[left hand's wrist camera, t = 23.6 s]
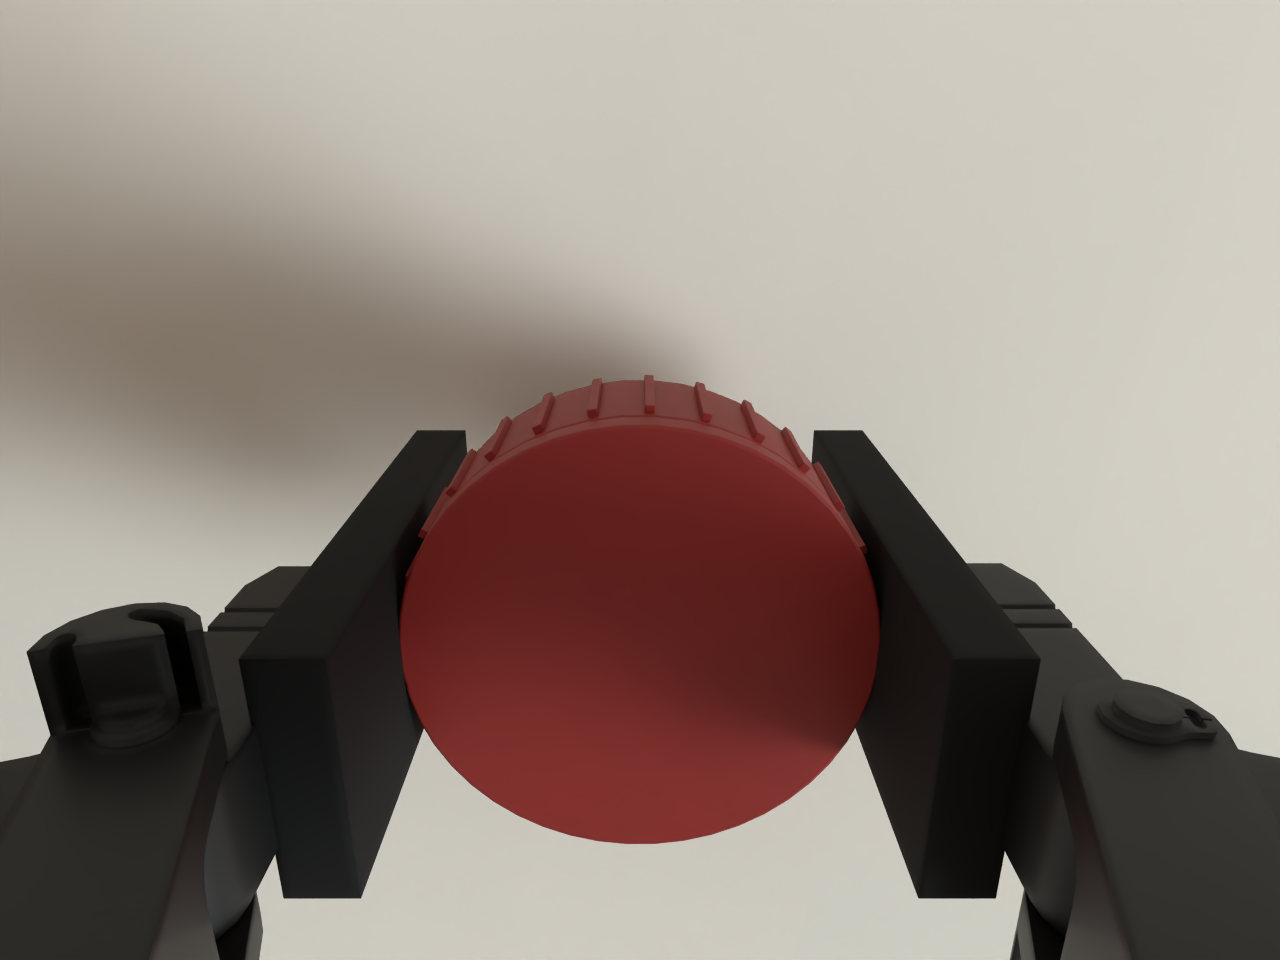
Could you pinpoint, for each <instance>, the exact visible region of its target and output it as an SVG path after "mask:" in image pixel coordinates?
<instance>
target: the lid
mask: <svg viewBox="0 0 1280 960" xmlns="http://www.w3.org/2000/svg"><path fill="white" fill-rule="evenodd" d="M844 508H845V506H844V504H843V503H842V501H841V499H840V497H839V496H838V494H837V492H836V490H835V489H834V487H833V485H832V483H831V482H830V480H829V478H828V476H827V475H826V473H825V471H824V469H823V468H822V466H821V465H820V463H819V462H816V463H815V464H813V465H812V464H811V462H810V461H809V460H808V458H807V457H806V456H805V454H804V453H803V452H802V450H801V449H800V447H799V445H798V444H797V442H796V440H795V438H794V436H793V434H792V432H791V431H790V430H789V429H788V428H786V427H785V428H784V429H783V430H782V431H781V430H780V429H778V428H777V427H776V426H774V425H773V424H772V423H770V422H769V421H768V420H766V419H765V418H764V417H762V416H761V415H759V414H758V413H756V412H755V411H754V409H753V407H752V404H751V403H750V402H748V401H746V400H743V402H742V404H740V403H738V402H736V401H733V400H731V399H728V398H726V397H723V396H721V395H718V394H716V393H713V392H711V391H708V390H706V389H705V385H704V384H702V383H698V382H696V384H695V387H692V386H688V385H684V384H678V383H670V382H662V381H654V379H653V376H652V375H645V376H644V380H641V381H617V382H610V383H602V379H601V378H600V379H594V380H593V382H592V385H591V386H587V387H583V388H580V389H576V390H572V391H569V392H565V393H563V394H561V395H558V396H556V397H554V396H553V394H552V392H551V393H548V394H546V395H544V397H543V400H542V402H541V403H539V404H538V405H536V406H534V407H532V408H531V409H529V410H527V411H525V412H524V413H522V414H520V415H519V416H517V417H515V418H514V419H513V420H511V419H510V418H509V417H508V416H507V417H506V418H504V419H503V420H502V421H501V423H500V425H499V427H498V429H497V431H496V433H495V434H494V435H493V436H492V437H491V438H490V439H489V440H488V441H487V442H486V443H485V444H484V445H483V446H482V447H481V448H480V449H479V450H478V451H477V452H476V451H474V450H473V449H471V450H470V451H469V452H468V453H467V455H466V456H465V458H464V460H463V462H462V464H461V465H460V467H459V469H458V471H457V473H456V474H455V476H454V478H453V480H452V481H451V483H450V485H449V487H448V488H447V487H445V488H444V490H443V492H442V494H441V496H440V497H439V499H438V501H437V503H436V504H435V506H434V508H433V510H432V511H431V513H430V515H429V517H428V518H427V520H426V522H425V524H424V525H423V527H422V529H421V531H420V533H419V535H418V536H419V537H421V538H423V539H424V541H423V543H422V545H421V547H420V549H419V550H418V552H417V554H416V556H415V558H414V560H413V562H412V563H411V565H410V567H409V569H408V571H407V573H406V574H405V582H406V583H405V586H404V591H403V596H402V602H401V607H400V612H399V639H400V649H401V657H402V666H403V674H404V680H405V683H406V687H407V691H408V694H409V697H410V700H411V702H412V704H413V706H414V709H415V711H416V713H417V716H418V718H419V720H420V722H421V724H422V725H423V727H424V729H425V730H426V732H427V734H428V735H429V737H430V739H431V740H432V742H433V743H434V745H435V746H436V747H437V749H438V750H439V751H440V752H441V754H442V755H443V756H444V757H445V759H446V760H447V761H448V762H449V763H450V765H451V766H452V767H453V768H454V769H455V770H456V771H457V772H458V773H459V774H461V775H462V776H463V777H464V778H465V779H466V780H467V781H468V782H469V783H470V784H471V785H472V786H474V787H475V788H476V789H478V790H479V791H480V792H482V793H483V794H484V795H486V796H487V797H488V798H490V799H491V800H492V801H494V802H495V803H497V804H499V805H500V806H502V807H504V808H506V809H507V810H509V811H511V812H513V813H514V814H516V815H518V816H520V817H522V818H525V819H527V820H529V821H531V822H534V823H536V824H538V825H540V826H543V827H546V828H549V829H552V830H555V831H558V832H561V833H564V834H568V835H571V836H576V837H581V838H586V839H591V840H595V841H602V842H613V843H623V844H658V843H667V842H676V841H684V840H689V839H694V838H698V837H703V836H708V835H712V834H715V833H718V832H721V831H724V830H727V829H730V828H733V827H736V826H739V825H741V824H744V823H746V822H748V821H750V820H752V819H754V818H757V817H759V816H761V815H763V814H765V813H767V812H769V811H770V810H772V809H774V808H775V807H777V806H779V805H780V804H782V803H784V802H785V801H787V800H789V799H790V798H791V797H792V796H794V795H795V794H796V793H798V792H799V791H800V790H802V789H803V788H804V787H805V786H807V785H808V784H809V783H811V782H812V781H813V780H814V779H815V778H816V777H817V776H818V775H819V774H820V773H821V772H822V771H823V770H824V769H825V768H826V767H827V766H828V765H829V764H830V763H831V761H832V760H833V759H834V758H835V756H836V755H837V754H838V753H839V751H840V750H841V749H842V747H843V746H844V745H845V744H846V742H847V741H848V739H849V737H850V736H851V734H852V732H853V731H854V729H855V727H856V726H857V724H858V722H859V721H860V719H861V717H862V714H863V712H864V709H865V707H866V705H867V702H868V700H869V697H870V695H871V692H872V688H873V685H874V681H875V676H876V669H877V660H878V651H879V642H880V610H879V605H878V600H877V595H876V590H875V585H874V581H873V579H872V576H871V573H870V571H869V568H868V565H867V562H866V560H865V557H864V555H863V554H865V553H868V551H867V548H866V546H865V544H864V542H863V540H862V539H861V537H860V535H859V533H858V532H857V530H856V528H855V526H854V524H853V523H852V521H851V519H850V517H849V516H848V514H847V512H846V510H845V509H844Z"/></svg>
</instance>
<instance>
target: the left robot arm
mask: <svg viewBox="0 0 1280 960" xmlns="http://www.w3.org/2000/svg"><path fill="white" fill-rule="evenodd" d="M466 455H467V446H466V433H465V430H417V431H416V433H415V434H414V435H413V436H412V438H411V439H410V440H409V441H408V443H407V444H406V445H405V447H404V448H403V449H402V450H401V452H400V453H399V454H398V456H397V457H396V458H395V459H394V461H393V462H392V463H391V465H390V466H389V467H388V468H387V470H386V471H385V472H384V473H383V475H382V476H381V477H380V479H379V480H378V481H377V482H376V484H375V485H374V486H373V488H372V489H371V490H370V491H369V493H368V494H367V495H366V496H365V498H364V499H363V500H362V502H361V503H360V504H359V505H358V507H357V508H356V509H355V511H354V512H353V513H352V514H351V516H350V517H349V518H348V519H347V521H346V522H345V523H344V525H343V526H342V527H341V528H340V530H339V531H338V532H337V534H336V535H335V536H334V537H333V539H332V540H331V541H330V542H329V544H328V545H327V546H326V548H325V549H324V550H323V551H322V553H321V554H320V555H319V557H318V558H317V559H316V560H315V562H314V563H313V564H312V566H278V567H277V568H275V569H273V570H271V571H270V572H268V573H266V574H264V575H263V576H261V577H259V578H257V579H256V580H254V581H252V582H250V583H248V584H247V585H245V586H244V587H243V588H242V589H241V590H240V592H239V593H238V594H237V595H236V596H235V597H234V598H233V599H232V600H231V602H230V603H229V604H228V605H227V606H226V607H225V612H221V613H220V614H219V615H218V616H217V617H216V618H215V619H214V620H213V622H212V623H211V624H210V625H209V626H208V632H203V627H202V622H201V618H200V615H198V614H197V613H195V612H194V611H193V610H191V609H190V608H188V607H186V606H181V605H176V604H170V603H165V602H162V603H136V604H130V605H125V606H120V607H115V608H110V609H105V610H101V611H98V612H95V613H92V614H89V615H86V616H84V617H81V618H78V619H75V620H72V621H70V622H68V623H66V624H64V625H62V626H61V627H59V628H57V629H55V630H53V631H51V632H50V633H48V634H46V635H44V636H43V637H42V638H41V639H40V640H39V641H38V642H37V643H35V644H34V645H33V646H32V647H31V648H30V649H29V650H28V651H27V655H28V659H29V662H30V666H31V669H32V673H33V676H34V679H35V683H36V686H37V690H38V693H39V697H40V700H41V704H42V707H43V711H44V714H45V718H46V721H47V725H48V728H49V731H50V737H49V739H48V741H47V743H46V744H45V746H44V748H43V750H42V752H41V754H37V755H33V756H29V757H24V758H19V759H14V760H9V761H4V762H0V960H259V956H260V949H261V942H262V935H263V927H262V920H261V912H260V907H259V903H258V898H257V893H256V891H257V889H258V887H259V885H260V883H261V881H262V879H263V877H264V875H265V873H266V871H267V869H268V867H269V865H270V863H271V861H272V859H273V857H274V856H275V855H276V860H277V866H278V871H279V876H280V881H281V887H282V892H283V897H284V898H361V897H362V894H363V891H364V889H365V886H366V883H367V881H368V878H369V875H370V872H371V870H372V867H373V864H374V862H375V859H376V856H377V854H378V851H379V848H380V845H381V843H382V840H383V837H384V835H385V832H386V829H387V827H388V824H389V821H390V818H391V816H392V813H393V810H394V808H395V805H396V802H397V800H398V797H399V794H400V791H401V789H402V786H403V783H404V781H405V778H406V775H407V772H408V770H409V767H410V764H411V762H412V759H413V756H414V754H415V751H416V748H417V745H418V743H419V740H420V737H421V735H422V732H423V729H424V727H423V725H422V724H421V722H420V720H419V718H418V716H417V713H416V711H415V709H414V706H413V704H412V702H411V700H410V697H409V694H408V691H407V687H406V683H405V680H404V674H403V666H402V657H401V649H400V639H399V612H400V607H401V602H402V596H403V591H404V586H405V583H406V582H405V574H406V573H407V571H408V569H409V567H410V565H411V563H412V562H413V560H414V558H415V556H416V554H417V552H418V550H419V549H420V547H421V545H422V543H423V541H424V539H423V538H421V537H419V536H418V535H419V533H420V531H421V529H422V527H423V525H424V524H425V522H426V520H427V518H428V517H429V515H430V513H431V511H432V510H433V508H434V506H435V504H436V503H437V501H438V499H439V497H440V496H441V494H442V492H443V490H444V488H445V487H447V488H448V487H449V485H450V483H451V481H452V480H453V478H454V476H455V474H456V473H457V471H458V469H459V467H460V465H461V464H462V462H463V460H464V458H465V456H466ZM816 462H819V463H820V465H821V466H822V468H823V469H824V471H825V473H826V475H827V476H828V478H829V480H830V482H831V483H832V485H833V487H834V489H835V490H836V492H837V494H838V496H839V497H840V499H841V501H842V503H843V504H844V506H845V508H844V509H845V510H846V512H847V514H848V516H849V517H850V519H851V521H852V523H853V524H854V526H855V528H856V530H857V532H858V533H859V535H860V537H861V539H862V540H863V542H864V544H865V546H866V548H867V551H868V553H865V554H863V555H864V557H865V560H866V562H867V565H868V568H869V571H870V573H871V576H872V579H873V581H874V585H875V590H876V595H877V600H878V605H879V610H880V642H879V651H878V660H877V669H876V676H875V681H874V685H873V688H872V692H871V695H870V697H869V700H868V702H867V705H866V707H865V709H864V712H863V714H862V717H861V719H860V721H859V722H858V724H857V726H856V727H855V728H856V731H857V734H858V736H859V739H860V742H861V744H862V747H863V750H864V752H865V755H866V758H867V761H868V763H869V766H870V769H871V771H872V774H873V777H874V779H875V782H876V785H877V788H878V790H879V793H880V796H881V798H882V801H883V804H884V806H885V809H886V812H887V815H888V817H889V820H890V823H891V825H892V828H893V831H894V833H895V836H896V839H897V842H898V844H899V847H900V850H901V852H902V855H903V858H904V860H905V863H906V866H907V869H908V871H909V874H910V877H911V879H912V882H913V885H914V888H915V890H916V893H917V896H918V898H996V894H997V889H998V884H999V878H1000V873H1001V868H1002V862H1003V857H1004V852H1006V854H1007V856H1008V858H1009V860H1010V862H1011V864H1012V866H1013V868H1014V870H1015V871H1016V873H1017V875H1018V877H1019V879H1020V881H1021V883H1022V885H1023V887H1024V893H1023V898H1022V903H1021V907H1020V912H1019V917H1018V922H1017V927H1016V932H1015V937H1014V942H1013V947H1012V952H1011V957H1010V960H1280V758H1277V757H1272V756H1267V755H1261V754H1256V753H1251V752H1247V751H1243V750H1239V749H1238V748H1237V746H1236V745H1235V743H1234V741H1233V739H1232V737H1231V735H1230V734H1229V733H1228V732H1227V730H1226V729H1225V728H1224V727H1223V726H1222V725H1221V724H1220V722H1219V721H1218V720H1217V719H1216V718H1215V717H1214V716H1213V715H1212V714H1210V713H1209V712H1207V711H1206V710H1204V709H1203V708H1201V707H1199V706H1198V705H1196V704H1195V703H1193V702H1192V701H1190V700H1189V699H1186V698H1184V697H1181V696H1179V695H1177V694H1174V693H1172V692H1169V691H1167V690H1164V689H1162V688H1160V687H1156V686H1152V685H1147V684H1143V683H1139V682H1134V681H1130V680H1123V679H1122V678H1121V677H1120V676H1119V675H1118V674H1117V672H1116V671H1115V670H1114V669H1113V668H1112V667H1111V666H1110V665H1109V664H1108V662H1107V661H1106V660H1105V659H1104V658H1103V657H1102V656H1101V655H1100V654H1099V653H1098V651H1097V650H1096V649H1095V648H1094V647H1093V646H1092V645H1091V644H1090V643H1089V642H1088V640H1087V639H1086V638H1085V637H1084V636H1083V635H1082V634H1081V633H1080V632H1079V630H1078V629H1077V628H1072V623H1071V622H1070V621H1069V619H1068V618H1067V617H1066V616H1065V615H1064V614H1063V613H1062V612H1061V611H1060V609H1055V604H1054V603H1053V602H1052V601H1051V600H1050V598H1049V597H1048V596H1047V595H1046V594H1045V593H1044V592H1043V591H1042V590H1041V588H1040V587H1039V586H1038V585H1037V584H1036V583H1035V582H1033V581H1032V580H1030V579H1028V578H1026V577H1024V576H1023V575H1021V574H1019V573H1017V572H1016V571H1014V570H1012V569H1010V568H1009V567H1007V566H1005V565H1003V564H1002V563H966V562H965V561H964V560H963V559H962V557H961V556H960V555H959V554H958V552H957V551H956V550H955V548H954V547H953V546H952V545H951V543H950V542H949V541H948V539H947V538H946V537H945V536H944V534H943V533H942V532H941V530H940V529H939V528H938V527H937V525H936V524H935V523H934V522H933V520H932V519H931V518H930V516H929V515H928V514H927V513H926V511H925V510H924V509H923V507H922V506H921V505H920V504H919V502H918V501H917V500H916V499H915V497H914V496H913V495H912V493H911V492H910V491H909V490H908V488H907V487H906V486H905V484H904V483H903V482H902V481H901V479H900V478H899V477H898V475H897V474H896V473H895V472H894V470H893V469H892V468H891V467H890V465H889V464H888V463H887V461H886V460H885V459H884V458H883V456H882V455H881V454H880V452H879V451H878V450H877V449H876V447H875V446H874V445H873V444H872V442H871V441H870V440H869V438H868V437H867V436H866V435H865V433H864V432H863V431H862V430H814V438H813V452H812V465H813V464H815V463H816Z"/></svg>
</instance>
